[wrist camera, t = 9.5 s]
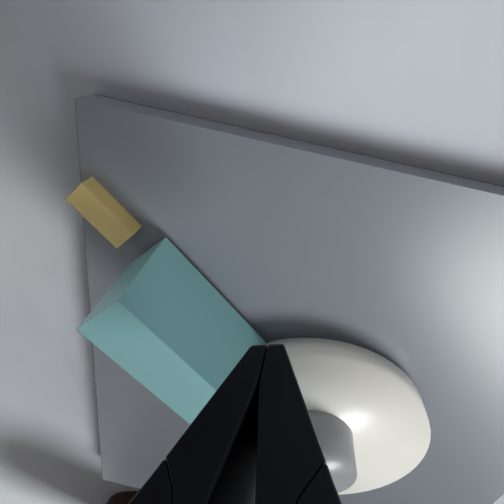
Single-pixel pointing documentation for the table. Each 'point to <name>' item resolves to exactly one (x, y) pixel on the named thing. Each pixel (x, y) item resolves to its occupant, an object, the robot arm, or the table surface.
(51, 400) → the table surface
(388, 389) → the dial
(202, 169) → the plate
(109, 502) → the coffee mug
